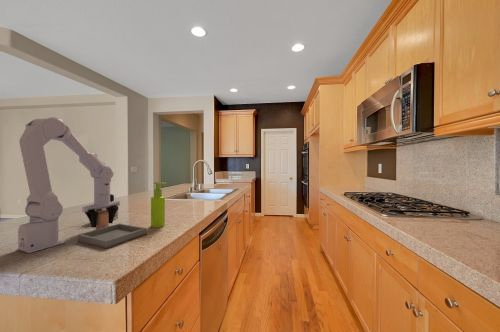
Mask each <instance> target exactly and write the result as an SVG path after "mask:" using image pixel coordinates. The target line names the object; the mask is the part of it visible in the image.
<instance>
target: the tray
mask: <svg viewBox="0 0 500 332" xmlns="http://www.w3.org/2000/svg"><path fill="white" fill-rule="evenodd" d="M147 232H148V231H147V227H144V226H143V227H142V226H137V225H131V224H126V223H125V224H124V223H116V224H113V225H112V224H111V225H109V226H108V227H105V228H101V229H97V230H96V229H94V230H91V231H86V232H83V233H79V234H77V242H79V243H82V244H86V245H89V244H90V246H93V245H94V247H97V246H98V248H102V249H106V250H107V249H109V248H110V249H111V248H113V247H115V246H118V245H121V244H123V243H124V244H125V243H127V242H129V241H132V240H134V239H138V238H141V237H143V236H146V235H147Z"/></svg>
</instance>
